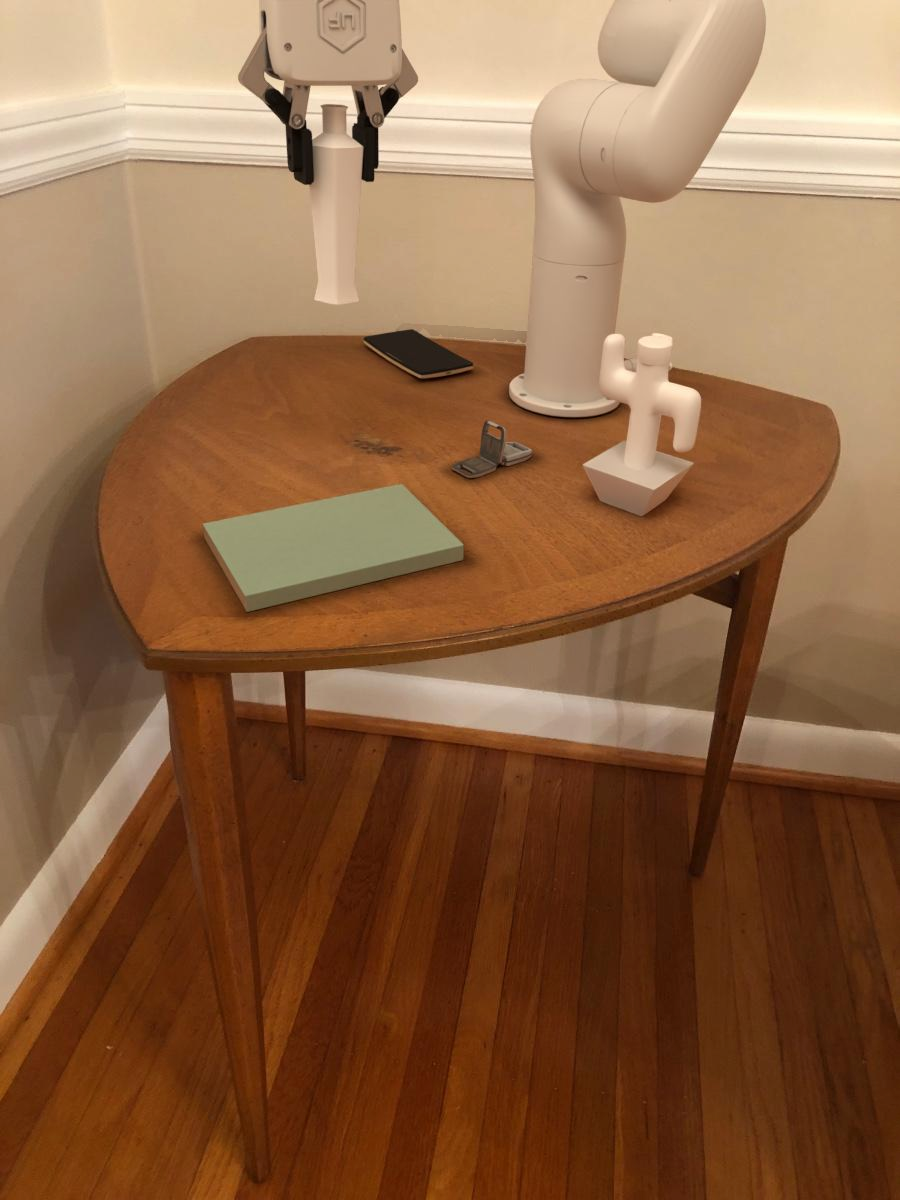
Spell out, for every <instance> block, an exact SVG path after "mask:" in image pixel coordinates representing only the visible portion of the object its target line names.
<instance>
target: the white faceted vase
mask: <svg viewBox="0 0 900 1200" xmlns="http://www.w3.org/2000/svg"><path fill="white" fill-rule="evenodd" d="M320 108H321V109H322V111H321V112H322V115H321V117H322V132H321V133H320V134H319V135H317V136H316V137H314V138H312V145H313V169H314V182H313V183H312V184H311V185H308V186H309V197H310V207H311V218H312V230H313V239H314V241H313V242H314V250H315V251H314V252H315V261H316V271H317V273H316V274H317V285H316V289H315V294H314V299H313V300H314V301H317V302H321V303H326V304H330V305H334V306H339V305H347V304H350V303H356V302H359V301H360V298H359V293H358V290H357V286H356V273H357V271H356V270H357V253H358V241H359V239H358V238H359V224H360V209H361V208H360V207H361V192H362V164H363V148H364V147H363V146H362V145H361V144H359V143H358V142H357V141H356V140H354V139H353V138H352V136H350V134H348V133H347V110H348V109H349V106H347V105H344V104H333V103H325V104H320Z"/></svg>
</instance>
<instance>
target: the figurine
mask: <svg viewBox="0 0 900 1200" xmlns="http://www.w3.org/2000/svg"><path fill="white" fill-rule="evenodd" d="M673 345H674V340H673V337H672V336H670V335H668V334H666V333H665V334H664V333H659V332H653V333H652V334H651V335H646V336H642V337H640V338H639V339H638V341H637V349H636V350H637V352H636V358H637V369H636V372H632V371H628V370H626V369H625V366H624V360H625V351H626V338H625V336H624V335H623V334H621V333H615V334H611V335H609V336H607V337H606V339H605V341H604V344H603V351H602V360H601V368H600V378H599V387H600V391H601V393H602V395H603V396H605V397H606V398H608V399H611V400H615V401H618V402H620V404H621V403H622V404H624V405H628V406H629V409H630V412H629V420H628V427H627V435H626V439H625V440H622V441H620V442H619V443H617V444H615V445H613V446H611V447H610V448H608V449H607V450H605V451H602V452H601V453H600V454H598V455H596V456H595V457H593V458H591V459H590V460H588V461H586V462H584V463H583V464H581V466H582V467H583V470H584V472H585V474H586V475H587V478H588V480H589V482H590V483H591V486H592V488H593V490H594V492H595V494H596V497H597V498H598V500H599V502H601V503H604V504H607V505H609V506H612V507H615V508H617V509H620V510H623V511H626V512H628V513H631V514H634V515H637V516H639V517H644V516H645V515H646V514H648V513H649V512H651V511H652V510H653V509H655V508H656V507H658V506H659V505H661V504H662V503H663V502H665V501H666V500H667V499H668V498H669V497H670V495H671V494H672V492H673V491H674V489H675V488H677V486H678V485H679V483H680V482H681V481H682V480H683V478H684V477H685V476H686V474H688V472H689V470H690V469H691V468H692V467H693V466H694V464H695V462H693V461H690V460H687V459H683V458H680V457H678V456H674V455H671V454H668V453H664V452H662V451H658V450H657V446H658V440H659V434H660V427H661V421H662V416H664V417H669V418H672V420H673V422H674V432H673V433H674V434H673V440H672V447H673V449H674V451H676V452H677V453H687V452H689V451H691V450H692V449H693V448H694V446H695V444H696V438H697V434H698V429H699V423H700V417H701V412H702V411H701V410H702V397H701V395H700V393H699V391H698V390H696V389H695V388H692V387H689V386H685V385H682V384H679V383H675V382H671V381H669V371H671V370H672V369H673V362H671V361H672V355H673V354H672V353H673V347H674V346H673Z"/></svg>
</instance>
